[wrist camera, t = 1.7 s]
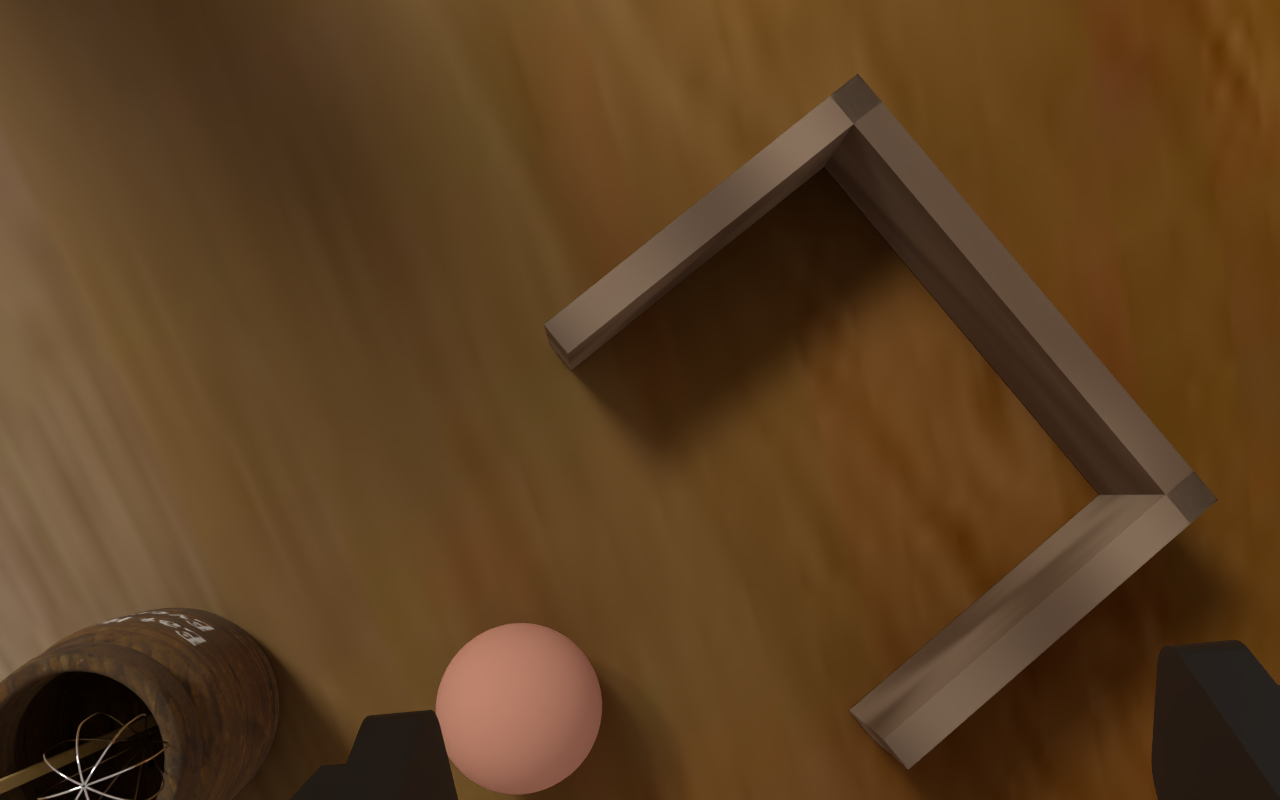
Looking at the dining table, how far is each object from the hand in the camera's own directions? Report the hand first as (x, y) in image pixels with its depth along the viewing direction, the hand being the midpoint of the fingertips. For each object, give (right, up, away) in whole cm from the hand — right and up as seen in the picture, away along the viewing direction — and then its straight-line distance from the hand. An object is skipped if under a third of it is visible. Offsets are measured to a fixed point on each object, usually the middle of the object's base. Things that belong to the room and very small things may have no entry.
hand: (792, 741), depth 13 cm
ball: (-5, -5, +18) cm, 19 cm away
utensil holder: (-15, -5, +20) cm, 26 cm away
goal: (+5, +3, +21) cm, 22 cm away
